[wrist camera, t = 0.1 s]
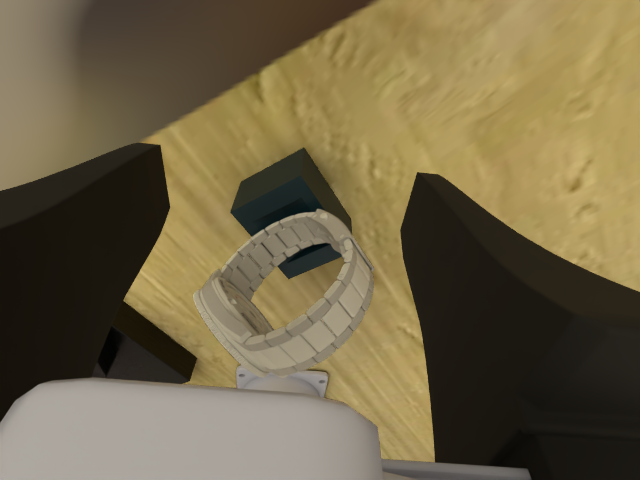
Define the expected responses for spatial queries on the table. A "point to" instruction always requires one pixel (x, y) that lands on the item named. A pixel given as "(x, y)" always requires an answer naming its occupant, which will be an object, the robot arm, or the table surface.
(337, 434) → the robot arm
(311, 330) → the watch
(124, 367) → the box
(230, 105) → the table surface
